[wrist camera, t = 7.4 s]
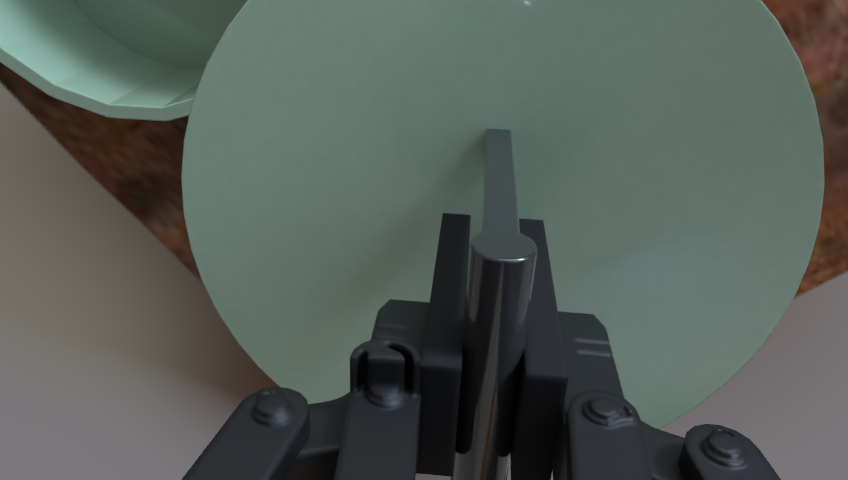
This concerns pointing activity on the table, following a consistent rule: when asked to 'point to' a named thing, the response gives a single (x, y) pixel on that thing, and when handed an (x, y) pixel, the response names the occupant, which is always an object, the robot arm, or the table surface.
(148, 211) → the table surface
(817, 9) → the table surface
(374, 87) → the lid
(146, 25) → the pot
